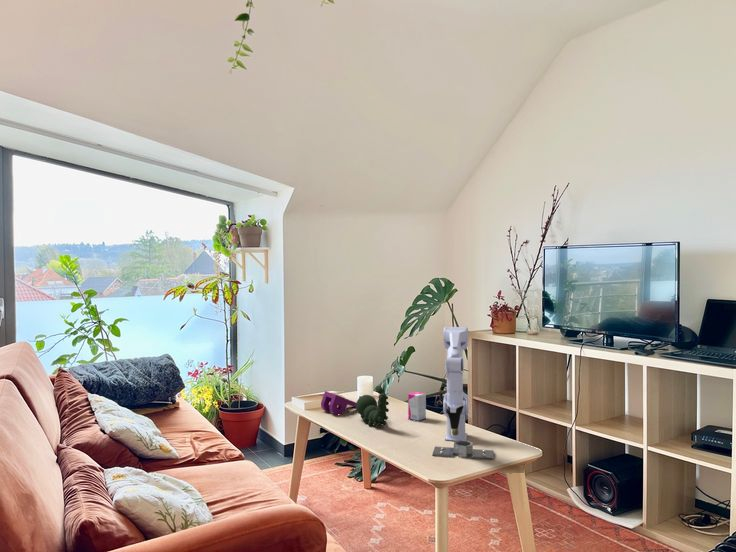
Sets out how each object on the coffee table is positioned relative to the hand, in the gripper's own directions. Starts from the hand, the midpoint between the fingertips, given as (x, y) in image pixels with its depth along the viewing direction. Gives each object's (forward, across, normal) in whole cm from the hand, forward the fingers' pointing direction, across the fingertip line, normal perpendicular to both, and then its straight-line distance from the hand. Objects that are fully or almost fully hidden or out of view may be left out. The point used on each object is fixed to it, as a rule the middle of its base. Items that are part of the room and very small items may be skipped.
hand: (455, 427), depth 207 cm
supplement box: (+10, -40, -21) cm, 46 cm away
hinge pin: (+2, 0, 0) cm, 3 cm away
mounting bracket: (+10, -47, -57) cm, 74 cm away
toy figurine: (+10, -30, -39) cm, 50 cm away
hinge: (+9, +1, +3) cm, 10 cm away
